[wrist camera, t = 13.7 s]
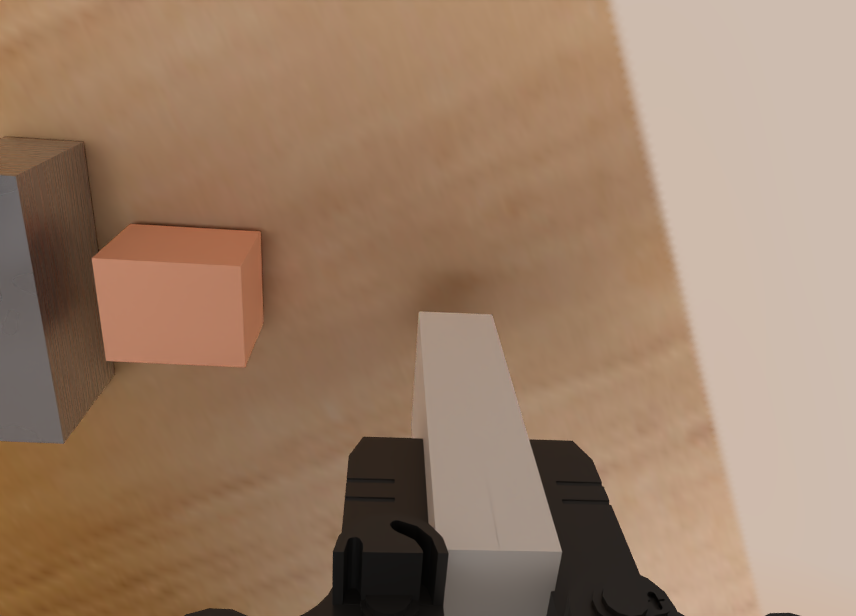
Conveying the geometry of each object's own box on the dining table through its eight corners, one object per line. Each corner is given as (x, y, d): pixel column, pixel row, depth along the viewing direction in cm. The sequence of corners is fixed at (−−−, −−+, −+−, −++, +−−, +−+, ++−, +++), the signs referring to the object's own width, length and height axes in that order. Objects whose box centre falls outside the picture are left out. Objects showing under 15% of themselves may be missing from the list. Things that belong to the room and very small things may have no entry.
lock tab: (140, 316, 17) (106, 360, 15) (130, 223, 16) (91, 257, 14) (263, 323, 17) (245, 367, 15) (260, 231, 16) (240, 266, 14)
